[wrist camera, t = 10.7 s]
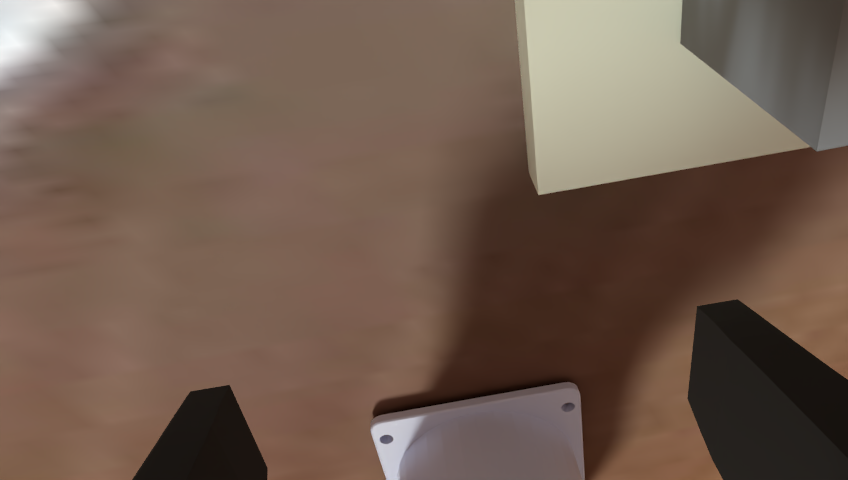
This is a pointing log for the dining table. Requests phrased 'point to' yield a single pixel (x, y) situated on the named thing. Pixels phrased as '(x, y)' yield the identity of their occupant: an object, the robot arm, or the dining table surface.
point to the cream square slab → (627, 96)
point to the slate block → (779, 59)
